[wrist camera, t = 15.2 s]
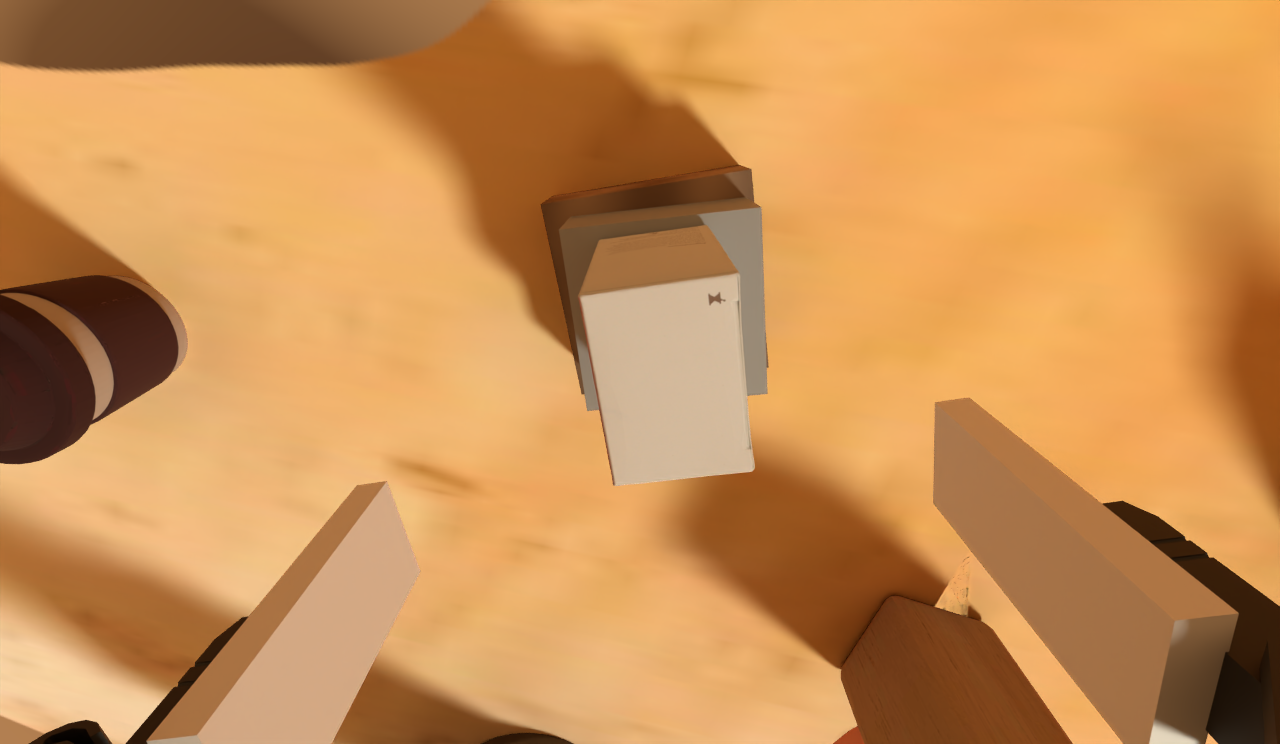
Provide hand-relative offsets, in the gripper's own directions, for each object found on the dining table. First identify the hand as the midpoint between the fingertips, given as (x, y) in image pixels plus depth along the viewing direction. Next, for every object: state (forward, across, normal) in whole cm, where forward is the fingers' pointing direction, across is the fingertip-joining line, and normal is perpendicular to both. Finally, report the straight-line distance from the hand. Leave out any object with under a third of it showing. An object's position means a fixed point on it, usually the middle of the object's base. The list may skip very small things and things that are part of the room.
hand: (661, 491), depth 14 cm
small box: (+18, 0, 0) cm, 18 cm away
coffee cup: (+31, -37, +1) cm, 48 cm away
